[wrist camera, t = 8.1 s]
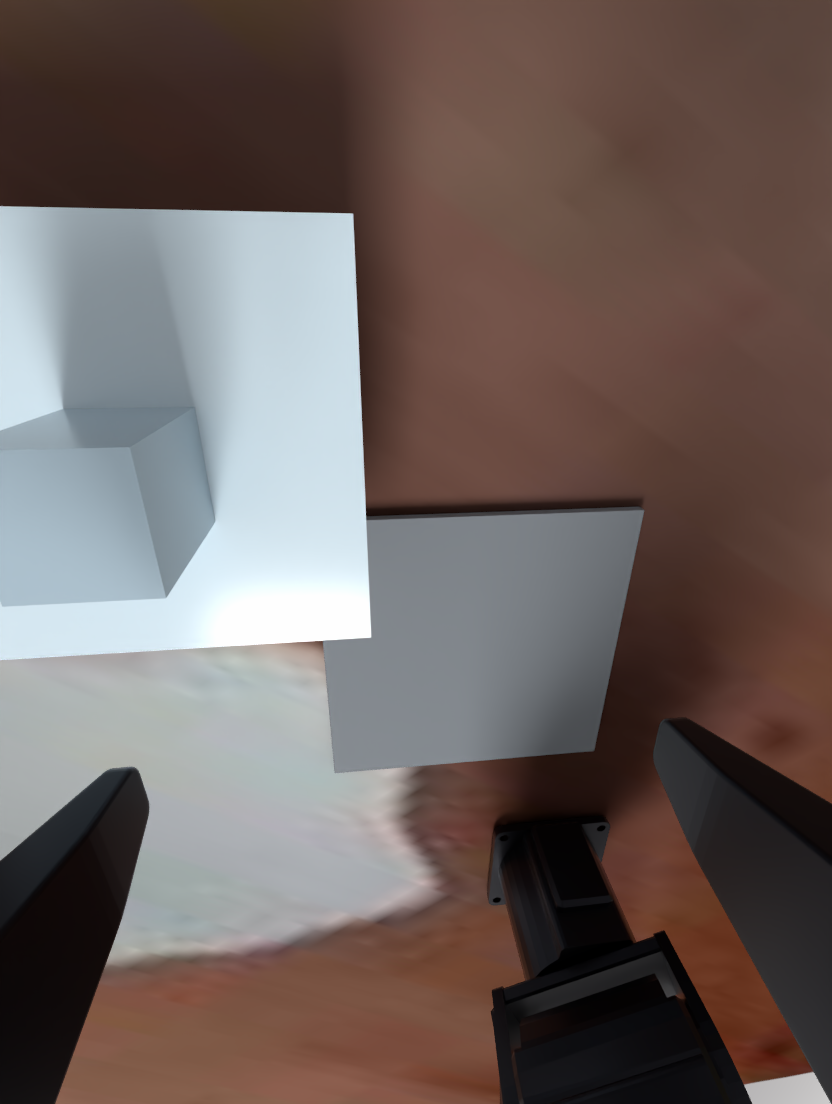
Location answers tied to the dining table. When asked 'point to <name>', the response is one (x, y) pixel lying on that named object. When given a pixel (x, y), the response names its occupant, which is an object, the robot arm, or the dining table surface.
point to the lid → (179, 431)
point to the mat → (482, 637)
